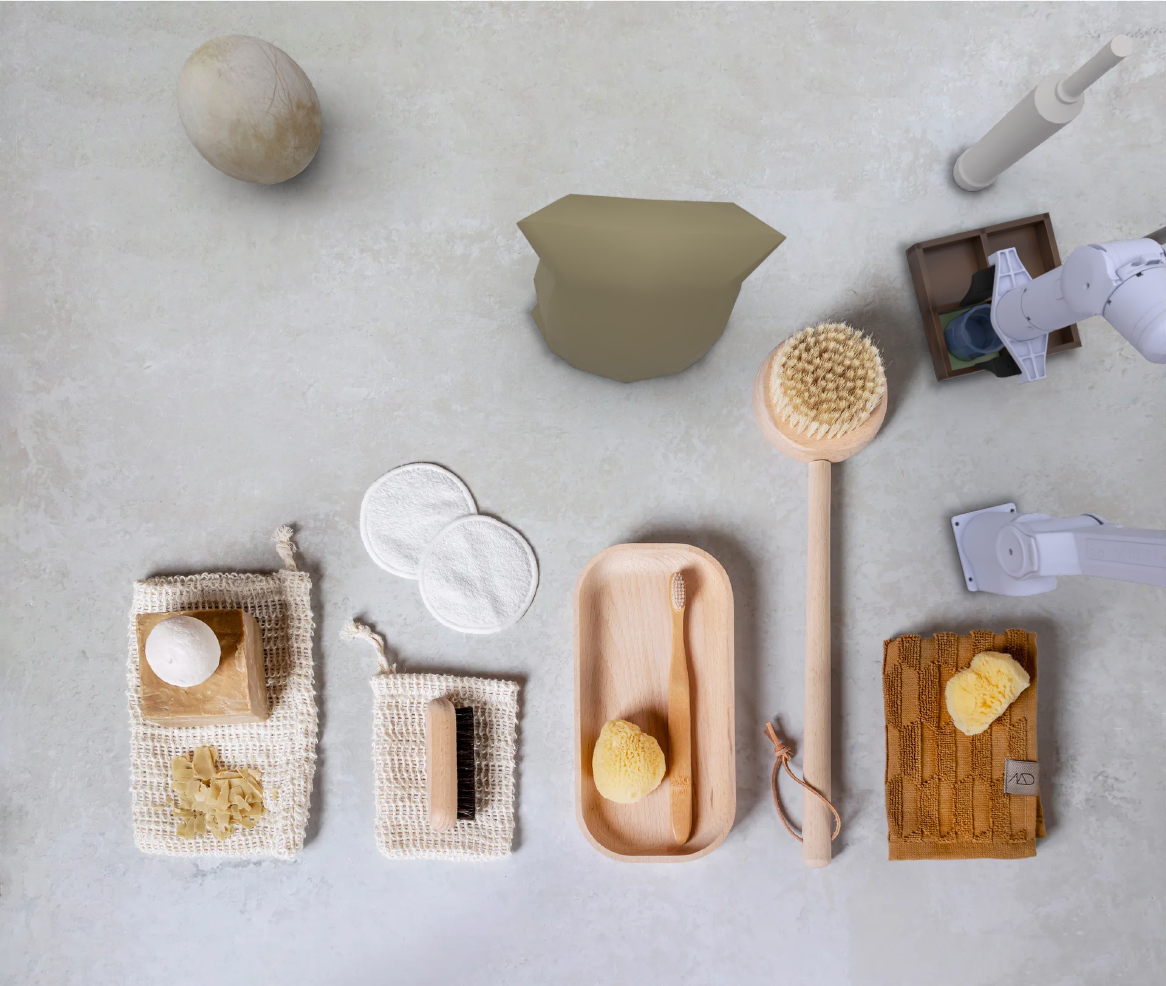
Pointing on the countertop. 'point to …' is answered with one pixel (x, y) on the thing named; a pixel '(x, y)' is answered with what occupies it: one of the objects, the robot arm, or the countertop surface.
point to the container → (640, 279)
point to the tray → (949, 274)
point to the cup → (972, 334)
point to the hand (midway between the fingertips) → (975, 334)
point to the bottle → (1035, 118)
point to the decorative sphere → (249, 109)
